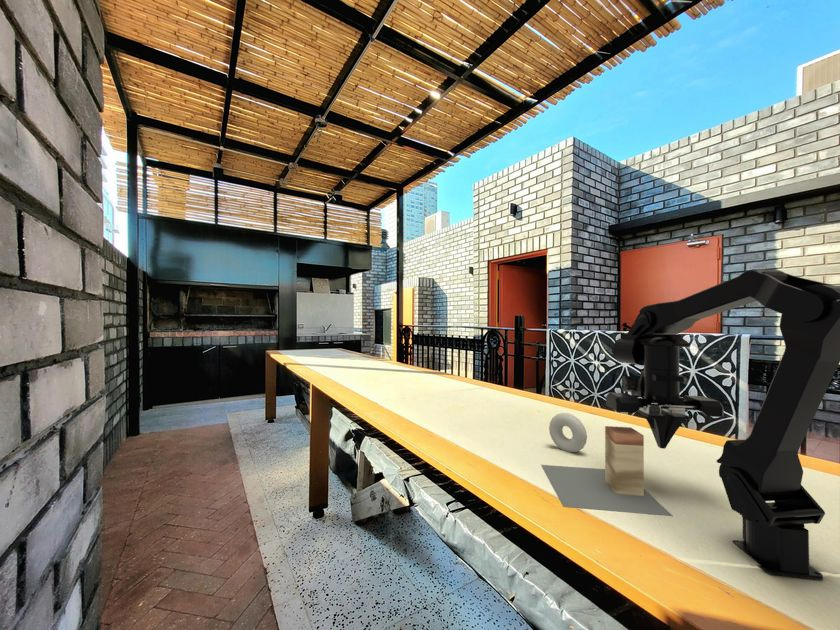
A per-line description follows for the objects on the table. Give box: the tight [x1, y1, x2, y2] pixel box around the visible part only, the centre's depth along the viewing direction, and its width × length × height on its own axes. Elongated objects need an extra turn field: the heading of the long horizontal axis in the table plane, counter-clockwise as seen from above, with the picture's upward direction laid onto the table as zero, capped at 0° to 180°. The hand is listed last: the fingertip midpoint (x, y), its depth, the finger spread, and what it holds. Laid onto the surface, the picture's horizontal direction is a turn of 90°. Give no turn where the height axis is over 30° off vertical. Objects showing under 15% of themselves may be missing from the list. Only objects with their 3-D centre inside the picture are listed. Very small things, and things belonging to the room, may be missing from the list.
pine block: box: [604, 425, 645, 496], centre depth 67 cm, size 5×5×12 cm
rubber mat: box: [540, 464, 674, 517], centre depth 67 cm, size 18×18×1 cm
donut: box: [548, 412, 588, 453], centre depth 87 cm, size 10×4×10 cm, turn 36°
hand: (661, 447), depth 66 cm, fingers closed
